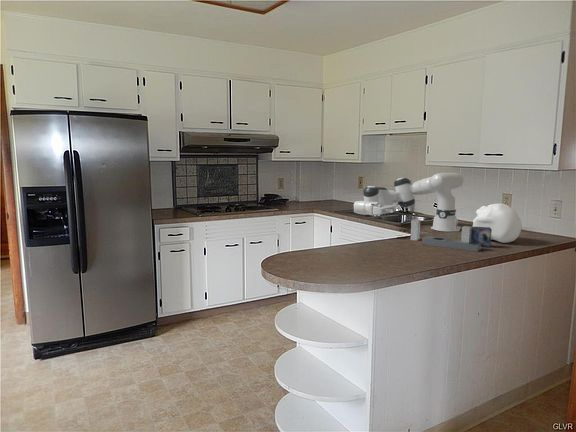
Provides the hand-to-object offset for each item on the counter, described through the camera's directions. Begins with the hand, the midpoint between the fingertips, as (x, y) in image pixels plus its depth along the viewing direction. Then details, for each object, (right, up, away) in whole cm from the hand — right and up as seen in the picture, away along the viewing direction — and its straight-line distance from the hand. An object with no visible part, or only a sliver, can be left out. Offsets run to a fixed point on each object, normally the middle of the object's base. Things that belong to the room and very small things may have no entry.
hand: (396, 210), depth 255 cm
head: (+56, -18, -6) cm, 59 cm away
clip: (+10, -18, -5) cm, 21 cm away
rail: (+24, -20, -24) cm, 40 cm away
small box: (+41, -21, -22) cm, 51 cm away
